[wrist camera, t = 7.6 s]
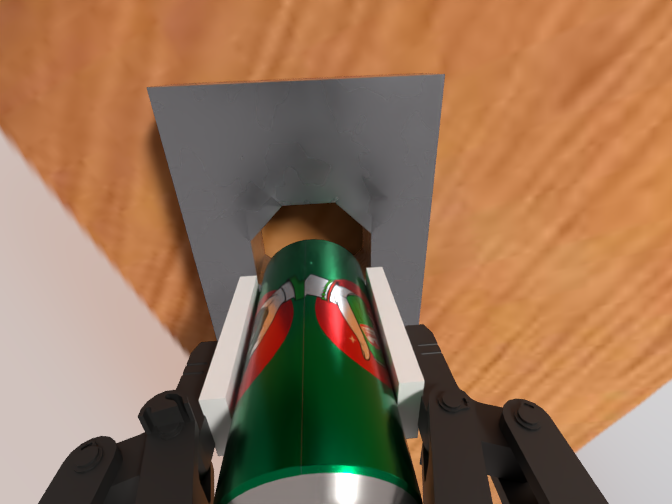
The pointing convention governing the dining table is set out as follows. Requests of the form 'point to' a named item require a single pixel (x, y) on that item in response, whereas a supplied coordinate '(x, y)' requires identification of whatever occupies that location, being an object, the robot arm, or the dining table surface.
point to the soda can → (315, 393)
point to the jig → (303, 170)
